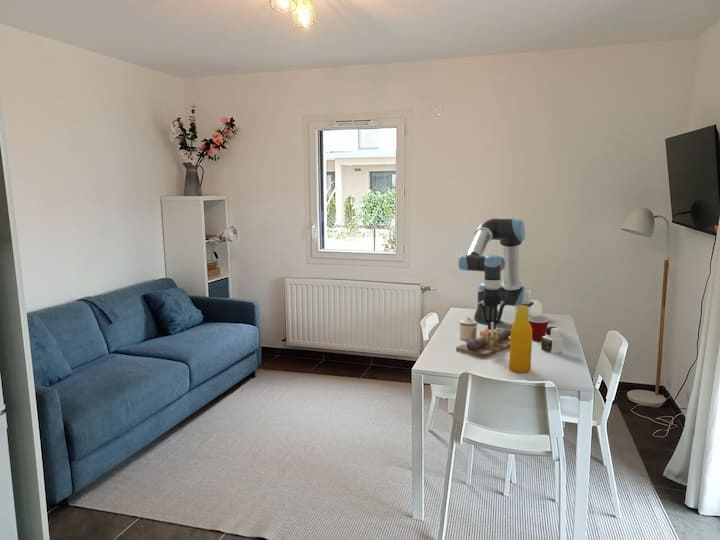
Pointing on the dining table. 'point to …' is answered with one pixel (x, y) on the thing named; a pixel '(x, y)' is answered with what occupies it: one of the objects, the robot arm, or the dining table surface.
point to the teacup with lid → (468, 329)
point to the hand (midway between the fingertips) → (491, 335)
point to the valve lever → (486, 333)
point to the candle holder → (526, 302)
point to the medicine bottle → (552, 341)
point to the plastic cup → (538, 327)
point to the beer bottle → (521, 342)
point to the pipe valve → (487, 344)
